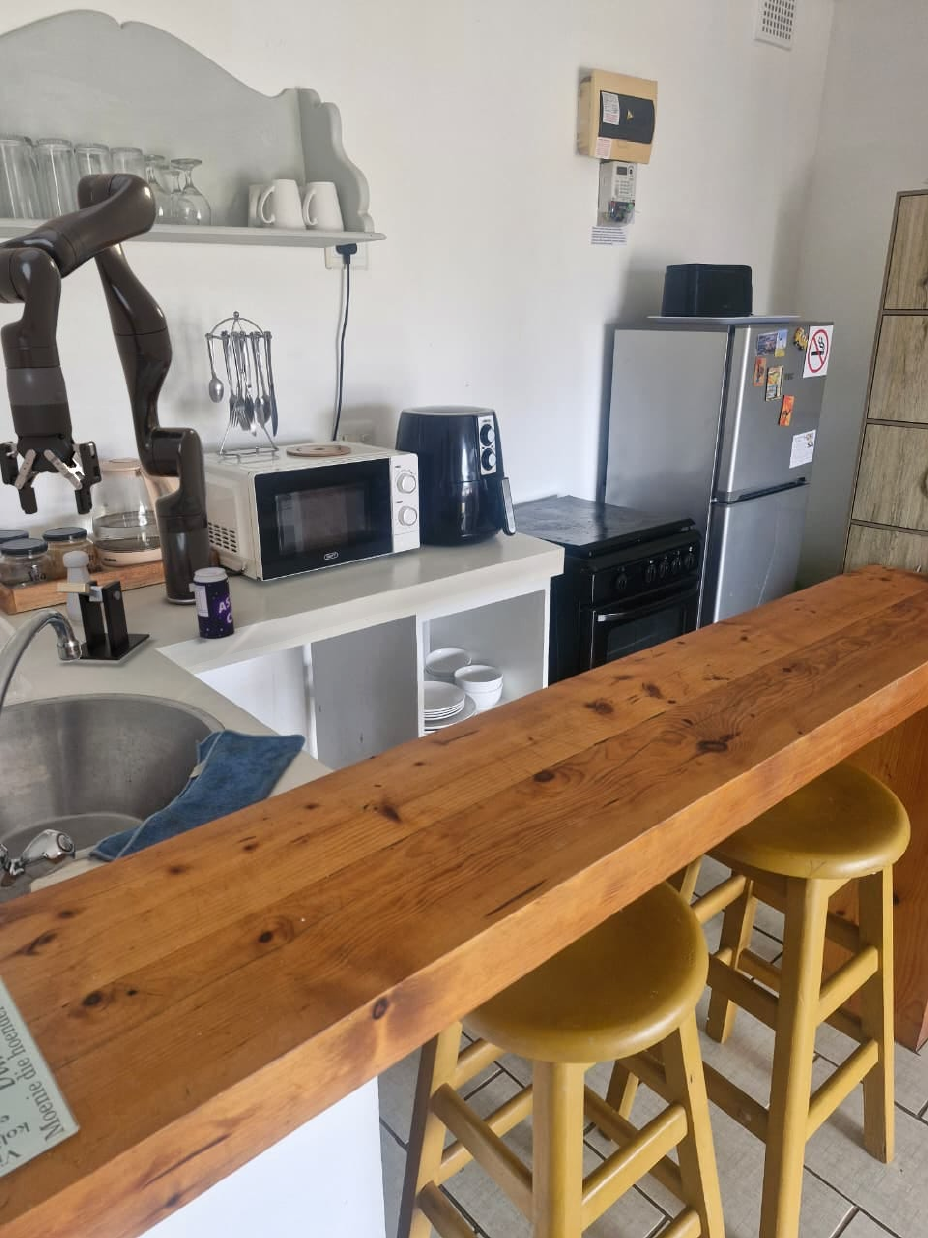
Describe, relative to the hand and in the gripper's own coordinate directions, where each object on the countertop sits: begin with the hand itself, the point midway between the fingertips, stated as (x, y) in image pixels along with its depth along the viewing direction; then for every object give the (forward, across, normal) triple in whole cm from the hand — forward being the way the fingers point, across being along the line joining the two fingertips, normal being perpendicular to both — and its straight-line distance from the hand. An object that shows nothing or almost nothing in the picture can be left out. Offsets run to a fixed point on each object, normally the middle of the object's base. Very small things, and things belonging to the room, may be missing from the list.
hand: (57, 513), depth 128 cm
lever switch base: (+25, 0, -8) cm, 26 cm away
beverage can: (+25, -16, -16) cm, 34 cm away
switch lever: (+15, 0, -4) cm, 15 cm away
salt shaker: (+25, +12, -23) cm, 36 cm away
